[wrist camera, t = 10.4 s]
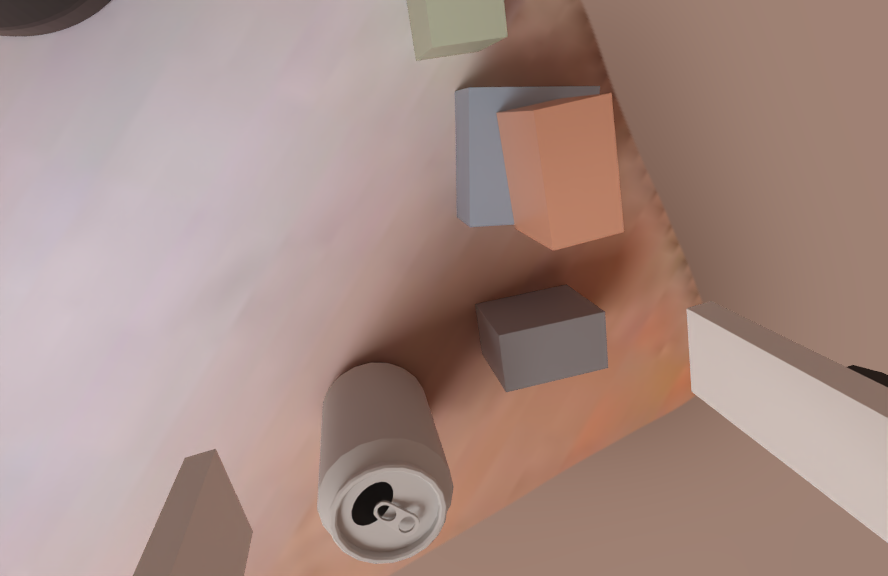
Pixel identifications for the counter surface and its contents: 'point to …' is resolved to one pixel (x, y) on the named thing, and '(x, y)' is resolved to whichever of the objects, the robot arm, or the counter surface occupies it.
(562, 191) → the terracotta brick
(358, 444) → the can
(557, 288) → the charcoal brick
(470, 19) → the sage brick
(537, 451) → the counter surface
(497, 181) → the slate blue brick
